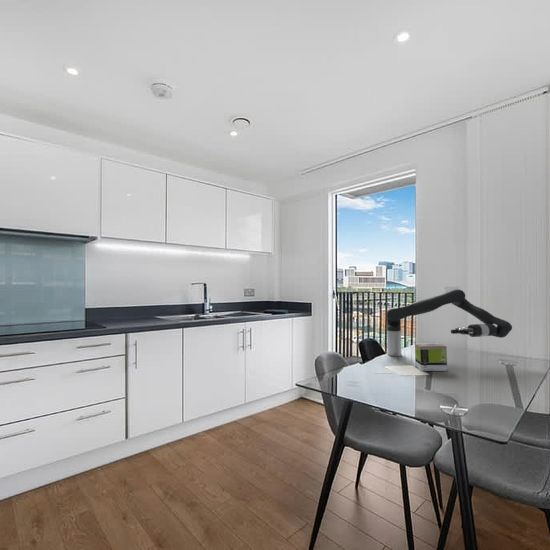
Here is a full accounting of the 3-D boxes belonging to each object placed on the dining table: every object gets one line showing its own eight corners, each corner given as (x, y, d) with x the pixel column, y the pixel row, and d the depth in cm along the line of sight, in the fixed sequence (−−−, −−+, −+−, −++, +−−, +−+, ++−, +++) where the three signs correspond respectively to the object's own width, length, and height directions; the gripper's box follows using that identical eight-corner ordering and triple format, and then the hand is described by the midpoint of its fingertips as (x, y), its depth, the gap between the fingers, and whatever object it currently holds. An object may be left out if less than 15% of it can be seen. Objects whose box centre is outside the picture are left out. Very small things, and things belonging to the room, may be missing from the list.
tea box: (440, 366, 201) (440, 342, 201) (447, 371, 191) (447, 346, 191) (415, 366, 203) (414, 342, 203) (420, 371, 193) (420, 345, 193)
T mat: (364, 368, 203) (364, 367, 203) (411, 365, 206) (411, 365, 206) (378, 377, 183) (378, 377, 183) (429, 375, 186) (429, 374, 186)
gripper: (470, 322, 207) (444, 324, 205) (486, 325, 194) (458, 327, 192) (470, 334, 207) (444, 336, 205) (486, 338, 194) (459, 339, 192)
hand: (451, 331), depth 199 cm, fingers closed
